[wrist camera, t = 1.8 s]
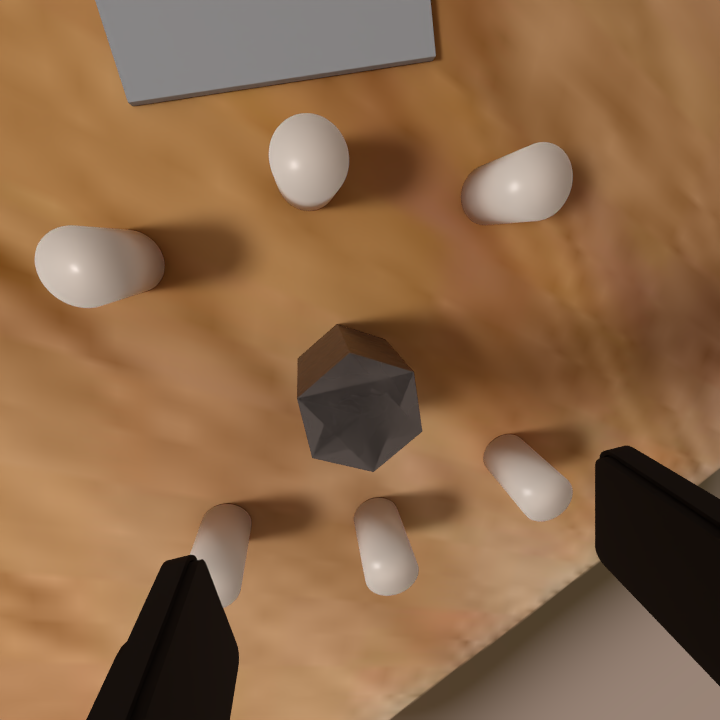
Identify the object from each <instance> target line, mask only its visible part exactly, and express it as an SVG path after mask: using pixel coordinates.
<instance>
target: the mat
mask: <svg viewBox="0 0 720 720" xmlns="http://www.w3.org/2000/svg"><path fill="white" fill-rule="evenodd" d="M95 1H96V4H97V7H98V10H99V14H100V17H101V20H102V23H103V26H104V29H105V32H106V35H107V38H108V41H109V45H110V48H111V51H112V54H113V57H114V60H115V63H116V66H117V69H118V72H119V76H120V79H121V82H122V85H123V88H124V91H125V94H126V97H127V100H128V103H129V104H131V105H132V106H137V105H144V104H150V103H157V102H164V101H170V100H177V99H183V98H190V97H197V96H203V95H210V94H216V93H223V92H229V91H236V90H243V89H249V88H256V87H262V86H269V85H276V84H282V83H289V82H295V81H302V80H309V79H315V78H322V77H328V76H335V75H341V74H348V73H355V72H361V71H368V70H374V69H381V68H388V67H394V66H401V65H407V64H414V63H421V62H427V61H433V59H434V58H435V57H436V53H435V42H434V32H433V21H432V11H431V0H95Z"/></svg>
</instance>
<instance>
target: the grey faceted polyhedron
mask: <svg viewBox="0 0 720 720" xmlns="http://www.w3.org/2000/svg"><path fill="white" fill-rule="evenodd" d="M297 400H298V404H299V408H300V411H301V415H302V419H303V423H304V427H305V431H306V435H307V439H308V443H309V447H310V451H311V455H312V458H315V459H319V460H324V461H328V462H332V463H337V464H341V465H345V466H350V467H354V468H358V469H363V470H367V471H372V472H374V471H375V470H376V469H378V468H379V467H380V466H381V465H382V464H384V463H385V462H386V461H387V460H388V459H390V458H391V457H392V456H393V455H394V454H396V453H397V452H398V451H399V450H400V449H402V448H403V447H404V446H405V445H407V444H408V443H409V442H410V441H411V440H413V439H414V438H415V437H416V436H417V435H419V434H420V433H421V432H422V426H421V419H420V412H419V405H418V398H417V391H416V384H415V377H414V372H413V371H412V369H411V368H410V367H409V366H408V365H407V364H406V363H405V361H404V360H403V359H402V358H401V357H400V356H399V355H398V353H397V352H396V351H395V350H394V349H393V348H392V347H391V345H390V344H389V343H388V342H387V341H386V340H385V339H382V338H379V337H376V336H373V335H370V334H367V333H363V332H360V331H357V330H354V329H351V328H348V327H345V326H342V325H338V324H336V325H335V326H334V327H333V328H332V329H331V330H330V331H328V332H327V333H326V334H325V335H324V336H323V337H322V338H320V339H319V340H318V341H317V342H316V343H315V344H314V345H312V346H311V347H310V348H309V349H308V350H307V351H306V352H305V353H303V354H302V355H301V356H300V357H299V358H298V376H297Z"/></svg>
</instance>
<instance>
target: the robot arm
mask: <svg viewBox="0 0 720 720" xmlns="http://www.w3.org/2000/svg"><path fill="white" fill-rule="evenodd" d="M595 548H596V552H597V555H598V557H599V559H600V560H601V562H602V563H603V564H604V566H605V567H606V568H607V569H608V570H609V571H610V572H611V573H612V574H613V575H614V576H615V577H616V578H617V579H618V580H619V581H620V582H621V583H622V584H623V586H624V587H626V589H627V590H628V591H629V592H630V593H631V594H632V595H633V596H634V597H635V598H636V599H637V600H638V601H639V602H640V603H641V604H642V605H643V606H644V607H645V608H646V609H647V611H648V612H649V613H650V614H651V615H652V616H653V617H654V618H655V619H656V620H657V621H658V622H659V623H660V624H661V625H662V626H663V627H664V628H665V629H666V630H667V632H668V633H669V634H670V635H671V636H672V637H673V638H674V639H675V640H676V641H677V642H678V643H679V644H680V645H681V646H682V647H683V648H684V649H685V650H686V651H687V652H688V653H689V655H691V657H692V658H693V659H694V660H695V661H696V662H697V663H698V664H699V665H700V666H701V667H702V668H703V669H704V670H705V671H706V672H707V673H708V674H709V675H710V677H711V678H712V679H713V680H714V681H715V682H716V683H717V684H718V685H719V686H720V499H718V498H717V497H715V496H714V495H712V494H710V493H708V492H707V491H705V490H704V489H702V488H700V487H698V486H697V485H695V484H693V483H692V482H690V481H688V480H687V479H685V478H683V477H682V476H680V475H678V474H677V473H675V472H673V471H672V470H670V469H668V468H667V467H665V466H663V465H662V464H660V463H658V462H656V461H655V460H653V459H651V458H650V457H648V456H646V455H645V454H643V453H641V452H640V451H638V450H636V449H635V448H633V447H630V446H622V447H618V448H614V449H610V450H606V451H603V452H602V453H601V454H600V458H599V459H598V460H597V461H596V464H595ZM238 665H239V652H238V646H237V643H236V641H235V638H234V635H233V633H232V630H231V627H230V625H229V622H228V620H227V617H226V614H225V612H224V609H223V606H222V604H221V601H220V599H219V596H218V593H217V591H216V588H215V585H214V583H213V580H212V578H211V575H210V572H209V570H208V567H207V565H206V562H205V561H204V560H203V559H201V560H197V558H196V557H195V556H194V555H188V556H184V557H180V558H176V559H172V560H168V561H166V562H164V563H163V565H162V566H161V568H160V571H159V573H158V575H157V577H156V579H155V582H154V584H153V586H152V588H151V590H150V592H149V595H148V597H147V599H146V601H145V603H144V606H143V608H142V610H141V612H140V614H139V617H138V619H137V621H136V623H135V625H134V627H133V630H132V632H131V634H130V636H129V638H128V641H127V642H126V643H125V644H124V645H123V646H122V647H121V649H120V650H119V652H118V654H117V655H116V657H115V660H114V662H113V664H112V666H111V668H110V670H109V672H108V674H107V677H106V679H105V681H104V683H103V685H102V687H101V689H100V692H99V694H98V696H97V698H96V700H95V702H94V704H93V707H92V709H91V711H90V713H89V715H88V717H87V719H86V720H230V715H231V709H232V703H233V696H234V690H235V684H236V678H237V672H238Z"/></svg>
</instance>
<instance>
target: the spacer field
mask: <svg viewBox="0 0 720 720" xmlns="http://www.w3.org/2000/svg"><path fill="white" fill-rule="evenodd" d="M269 162H270V167H271V171H272V173H273V176H274V178H275V181H276V183H277V186H278V188H279V191H280V193H281V195H282V196H283V198H284V199H285V200H286V201H287V202H288V203H289V204H290V205H292V206H293V207H295V208H297V209H300V210H304V211H314V210H318V209H320V208H322V207H324V206H325V205H327V204H328V203H329V202H330V201H331V199H332V198H333V197H334V195H335V194H336V193H337V191H338V190H339V189H340V187H341V186H342V184H343V183H344V181H345V179H346V176H347V173H348V168H349V152H348V148H347V145H346V142H345V140H344V138H343V136H342V134H341V133H340V131H339V130H338V129H337V127H336V126H335V125H334V124H333V123H331V122H330V121H329V120H327V119H326V118H324V117H322V116H319V115H316V114H311V113H302V114H297V115H294V116H291V117H289V118H288V119H286V120H285V121H284V122H282V123H281V124H280V125H279V126H278V128H277V129H276V131H275V132H274V134H273V136H272V139H271V142H270V147H269ZM572 182H573V171H572V166H571V163H570V160H569V158H568V156H567V155H566V153H565V152H564V151H563V150H562V149H561V148H560V147H558V146H557V145H555V144H552V143H548V142H539V143H535V144H532V145H530V146H527V147H525V148H523V149H520V150H518V151H515V152H513V153H511V154H508V155H506V156H504V157H501V158H499V159H496V160H494V161H492V162H489V163H487V164H484V165H482V166H480V167H478V168H476V169H475V170H473V171H472V172H471V173H470V174H469V176H468V177H467V178H466V180H465V182H464V184H463V187H462V192H461V203H462V207H463V210H464V212H465V214H466V215H467V217H468V218H469V219H470V220H471V221H473V222H475V223H476V224H479V225H495V224H506V223H517V222H529V221H539V220H543V219H546V218H549V217H550V216H552V215H554V214H555V213H556V212H557V211H558V210H559V209H560V208H561V207H562V206H563V205H564V203H565V202H566V200H567V198H568V196H569V194H570V191H571V187H572ZM35 266H36V270H37V273H38V276H39V278H40V280H41V281H42V283H43V284H44V286H45V287H46V288H47V289H48V291H50V292H51V293H52V294H53V295H54V296H55V297H57V298H58V299H60V300H61V301H63V302H65V303H67V304H70V305H73V306H77V307H82V308H93V307H99V306H102V305H105V304H108V303H112V302H115V301H118V300H121V299H124V298H127V297H130V296H133V295H136V294H140V293H143V292H146V291H148V290H151V289H152V288H154V287H155V286H156V285H157V284H158V283H159V282H160V281H161V279H162V277H163V274H164V269H165V263H164V258H163V255H162V252H161V250H160V249H159V247H158V246H157V244H156V243H155V242H154V241H153V240H152V239H151V238H149V237H148V236H146V235H145V234H143V233H140V232H138V231H134V230H127V229H113V228H100V227H86V226H62V227H58V228H56V229H53V230H52V231H50V232H48V233H47V234H46V235H45V236H44V237H43V238H42V239H41V240H40V242H39V244H38V246H37V248H36V253H35ZM484 464H485V466H486V468H487V469H488V470H489V471H490V473H491V474H492V475H493V476H494V477H495V479H496V480H497V481H498V482H499V483H500V485H501V486H502V487H503V488H504V490H505V491H506V492H507V493H508V494H509V496H510V497H511V498H512V499H513V500H514V502H515V503H516V504H517V505H518V506H519V508H520V509H521V510H522V511H523V513H524V514H525V515H526V516H527V517H528V518H530V519H532V520H534V521H547V520H551V519H553V518H555V517H557V516H558V515H560V514H561V513H562V512H563V511H564V510H565V509H566V508H567V507H568V505H569V503H570V501H571V499H572V493H573V491H572V486H571V484H570V482H569V481H568V480H567V479H566V478H565V477H564V476H563V475H561V474H560V473H559V472H558V471H557V470H556V469H555V468H554V467H552V466H551V465H550V464H549V463H548V462H547V461H546V460H545V459H543V458H542V457H541V456H540V455H539V454H538V453H537V452H536V451H534V450H533V449H532V448H531V447H530V446H529V445H528V444H527V443H525V442H524V441H523V440H522V439H521V438H520V437H518V436H516V435H512V434H506V435H502V436H499V437H497V438H495V439H494V440H493V441H492V442H491V443H490V444H489V445H488V446H487V448H486V450H485V452H484ZM354 524H355V529H356V534H357V539H358V545H359V550H360V555H361V560H362V565H363V570H364V575H365V581H366V584H367V586H368V587H369V589H370V590H371V591H373V592H374V593H376V594H379V595H385V596H390V595H396V594H399V593H401V592H403V591H405V590H407V589H408V588H409V587H410V586H411V585H412V584H413V583H414V582H415V580H416V578H417V576H418V571H419V569H418V564H417V561H416V559H415V556H414V553H413V550H412V548H411V545H410V542H409V539H408V537H407V534H406V531H405V528H404V526H403V523H402V520H401V517H400V515H399V512H398V509H397V507H396V505H395V504H394V503H393V502H392V501H390V500H388V499H385V498H373V499H369V500H367V501H365V502H364V503H362V504H361V505H360V506H359V507H358V509H357V510H356V512H355V515H354ZM251 525H252V522H251V518H250V515H249V514H248V513H247V511H245V510H244V509H243V508H241V507H239V506H237V505H233V504H222V505H218V506H215V507H213V508H211V509H210V510H208V511H207V512H206V514H205V515H204V517H203V519H202V522H201V525H200V527H199V530H198V533H197V536H196V539H195V542H194V544H193V547H192V550H191V553H190V555H194V556H195V557H196V558H197V560H201V559H203V560H204V561H205V562H206V565H207V567H208V570H209V572H210V575H211V578H212V580H213V583H214V585H215V588H216V591H217V593H218V596H219V599H220V601H221V604H222V606H223V608H224V607H226V606H228V605H230V604H231V603H232V602H234V601H235V600H236V598H237V597H238V595H239V593H240V590H241V585H242V579H243V573H244V567H245V561H246V555H247V549H248V543H249V537H250V532H251Z"/></svg>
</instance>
